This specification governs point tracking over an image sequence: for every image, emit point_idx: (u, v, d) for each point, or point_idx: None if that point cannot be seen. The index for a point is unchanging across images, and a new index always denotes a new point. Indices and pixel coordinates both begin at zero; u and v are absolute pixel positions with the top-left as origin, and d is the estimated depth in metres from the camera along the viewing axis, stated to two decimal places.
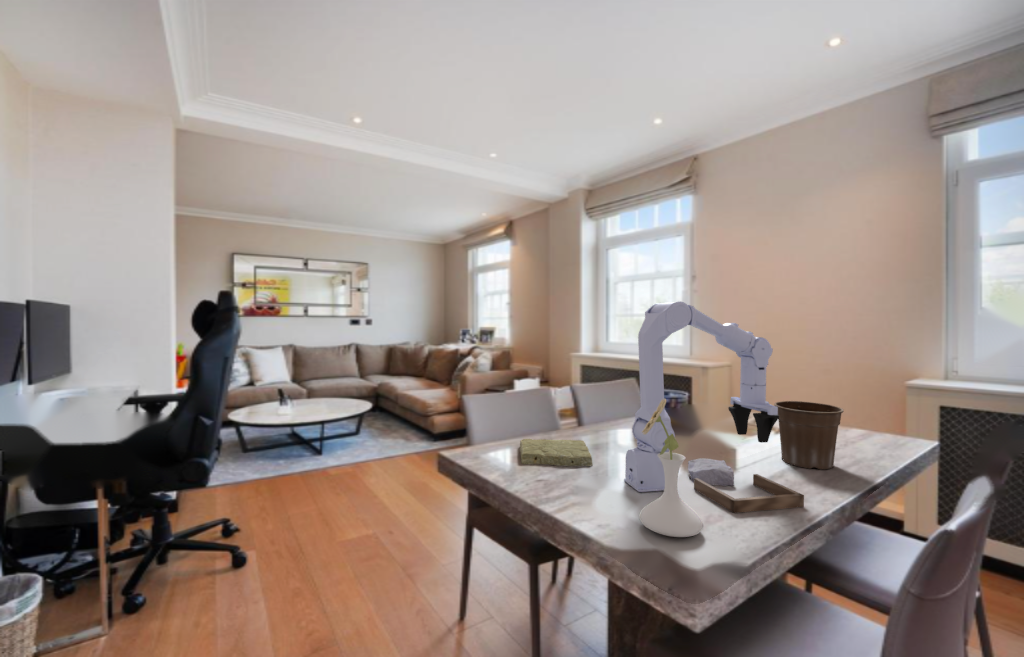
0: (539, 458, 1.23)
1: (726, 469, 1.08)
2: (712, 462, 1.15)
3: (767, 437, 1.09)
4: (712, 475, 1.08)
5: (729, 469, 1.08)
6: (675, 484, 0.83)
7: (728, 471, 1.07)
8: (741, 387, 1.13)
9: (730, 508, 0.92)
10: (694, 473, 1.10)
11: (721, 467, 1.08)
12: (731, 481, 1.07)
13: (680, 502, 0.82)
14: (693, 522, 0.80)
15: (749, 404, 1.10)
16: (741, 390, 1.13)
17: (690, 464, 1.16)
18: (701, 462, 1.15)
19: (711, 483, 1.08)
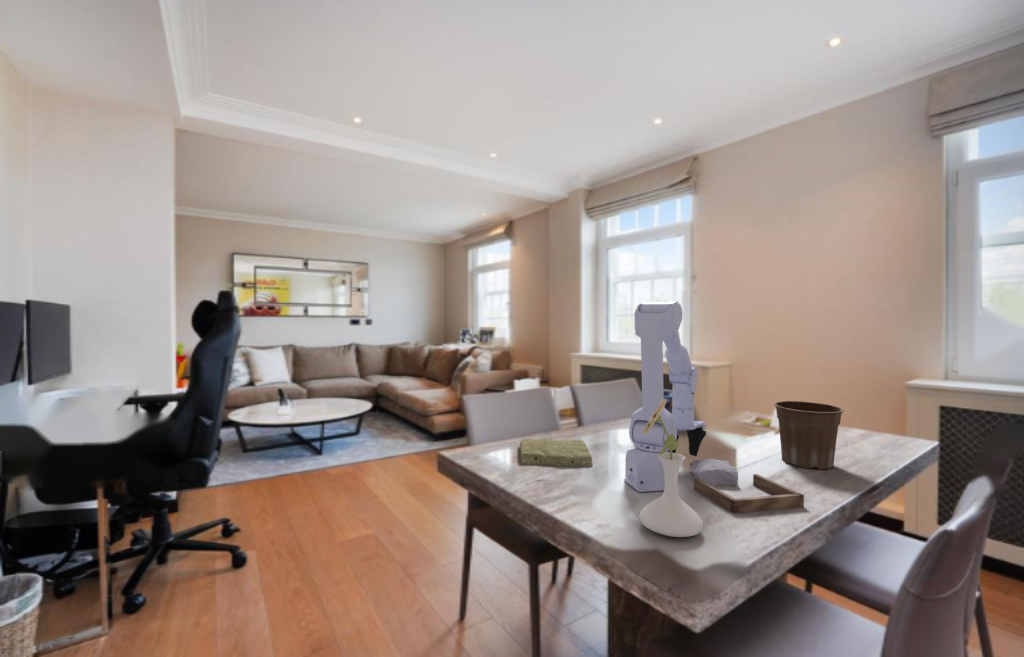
0: (539, 458, 1.23)
1: (730, 469, 1.08)
2: (716, 463, 1.14)
3: None
4: (716, 475, 1.08)
5: (733, 469, 1.08)
6: (675, 484, 0.83)
7: (732, 471, 1.07)
8: None
9: (730, 508, 0.92)
10: (698, 473, 1.09)
11: (725, 467, 1.08)
12: (735, 481, 1.07)
13: (680, 502, 0.82)
14: (693, 522, 0.80)
15: None
16: None
17: (694, 464, 1.15)
18: (704, 462, 1.15)
19: (715, 483, 1.07)
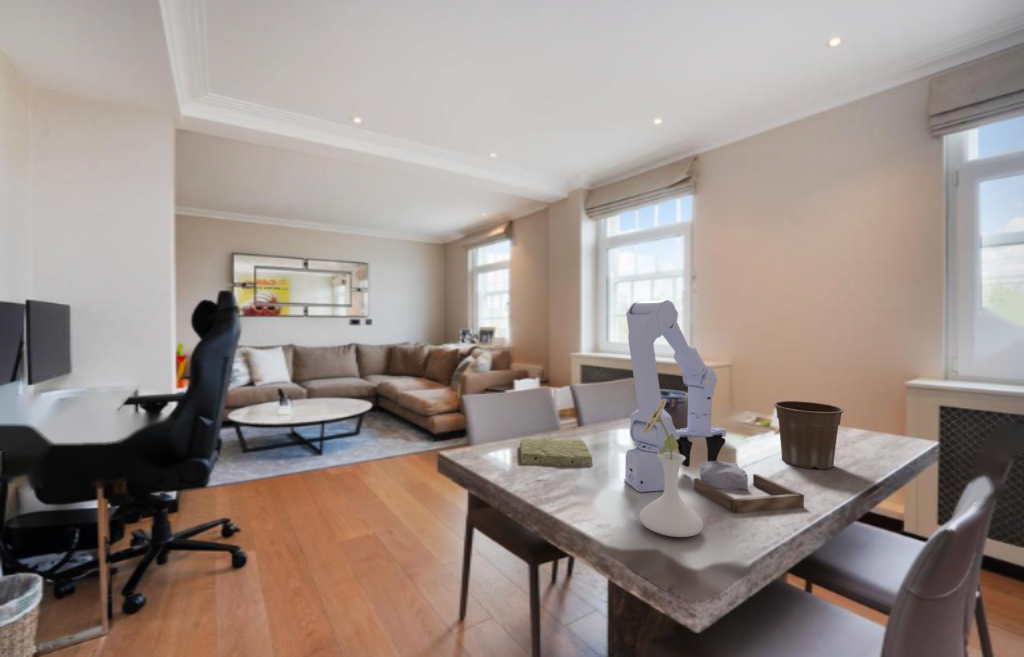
0: (539, 458, 1.23)
1: (740, 472, 1.05)
2: (724, 465, 1.12)
3: (685, 461, 1.15)
4: (725, 478, 1.06)
5: (743, 472, 1.06)
6: (675, 484, 0.83)
7: (742, 474, 1.05)
8: None
9: (730, 508, 0.92)
10: (707, 476, 1.07)
11: (735, 470, 1.06)
12: (745, 484, 1.04)
13: (680, 502, 0.82)
14: (693, 522, 0.80)
15: None
16: None
17: (702, 467, 1.13)
18: (713, 465, 1.13)
19: (724, 486, 1.05)
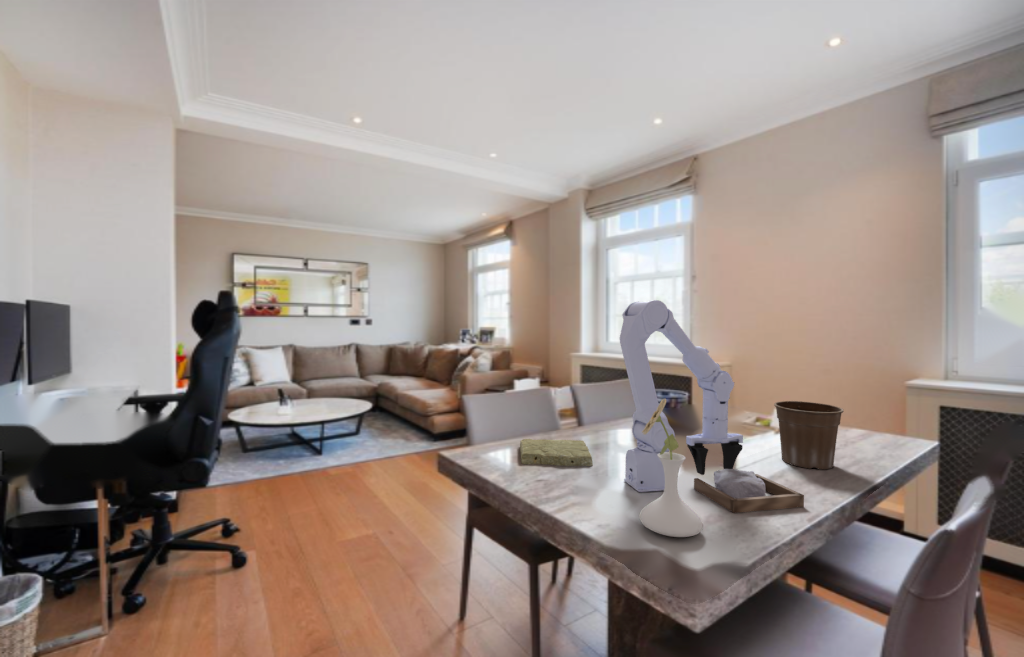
0: (539, 458, 1.23)
1: (757, 481, 0.99)
2: (740, 474, 1.06)
3: (700, 469, 1.09)
4: (741, 488, 1.00)
5: (760, 481, 0.99)
6: (675, 484, 0.83)
7: (759, 484, 0.99)
8: None
9: (730, 508, 0.92)
10: (721, 485, 1.01)
11: (752, 479, 1.00)
12: (763, 495, 0.98)
13: (680, 502, 0.82)
14: (693, 522, 0.80)
15: None
16: None
17: (716, 475, 1.07)
18: (728, 473, 1.07)
19: (740, 497, 0.99)
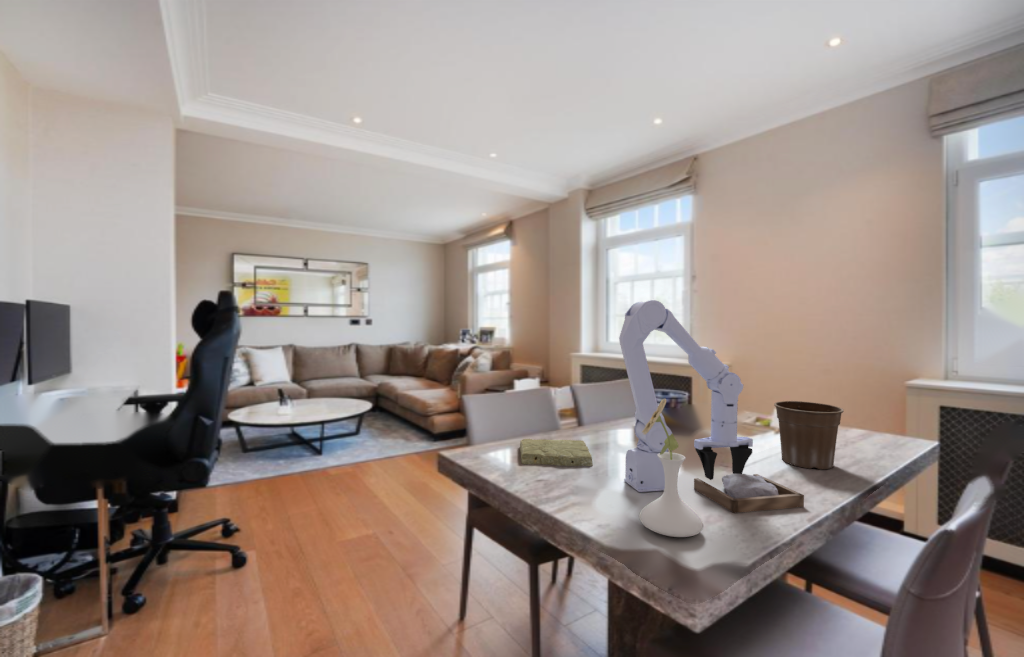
0: (539, 458, 1.23)
1: (770, 487, 0.96)
2: (750, 479, 1.03)
3: (709, 474, 1.06)
4: (754, 494, 0.96)
5: (773, 487, 0.96)
6: (675, 484, 0.83)
7: (772, 489, 0.96)
8: None
9: (730, 508, 0.92)
10: (733, 492, 0.97)
11: (764, 485, 0.97)
12: None
13: (680, 502, 0.82)
14: (693, 522, 0.80)
15: None
16: None
17: (725, 481, 1.04)
18: (737, 478, 1.03)
19: None
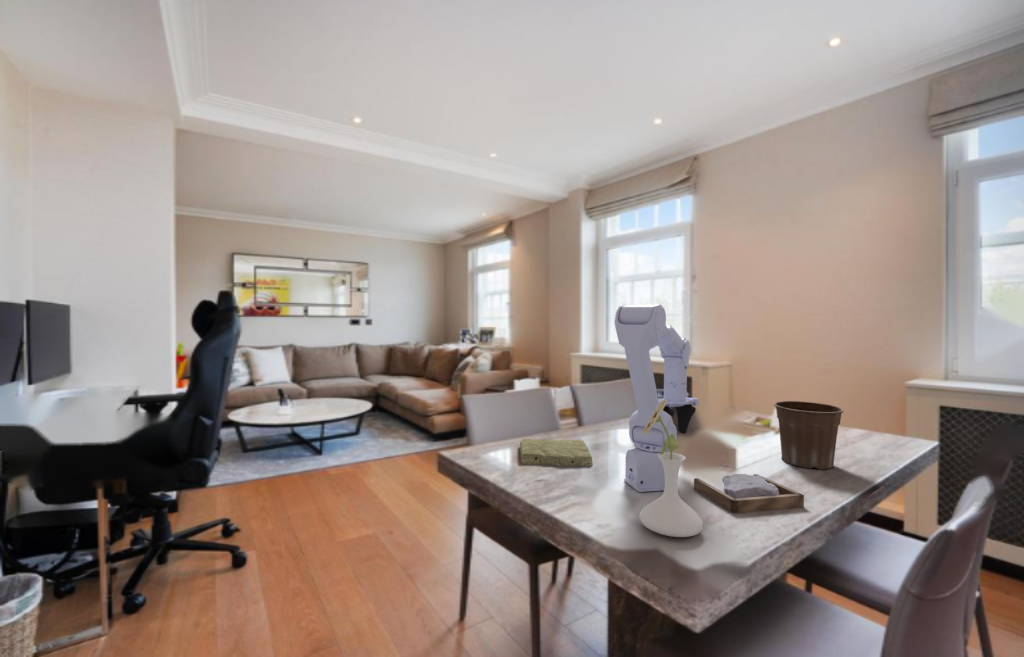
0: (539, 458, 1.23)
1: (770, 487, 0.96)
2: (751, 479, 1.03)
3: None
4: (754, 494, 0.96)
5: (774, 487, 0.96)
6: (675, 484, 0.83)
7: (773, 490, 0.95)
8: None
9: (730, 508, 0.92)
10: (734, 492, 0.97)
11: (765, 485, 0.96)
12: None
13: (680, 502, 0.82)
14: (693, 522, 0.80)
15: None
16: None
17: (726, 481, 1.03)
18: (738, 478, 1.03)
19: None
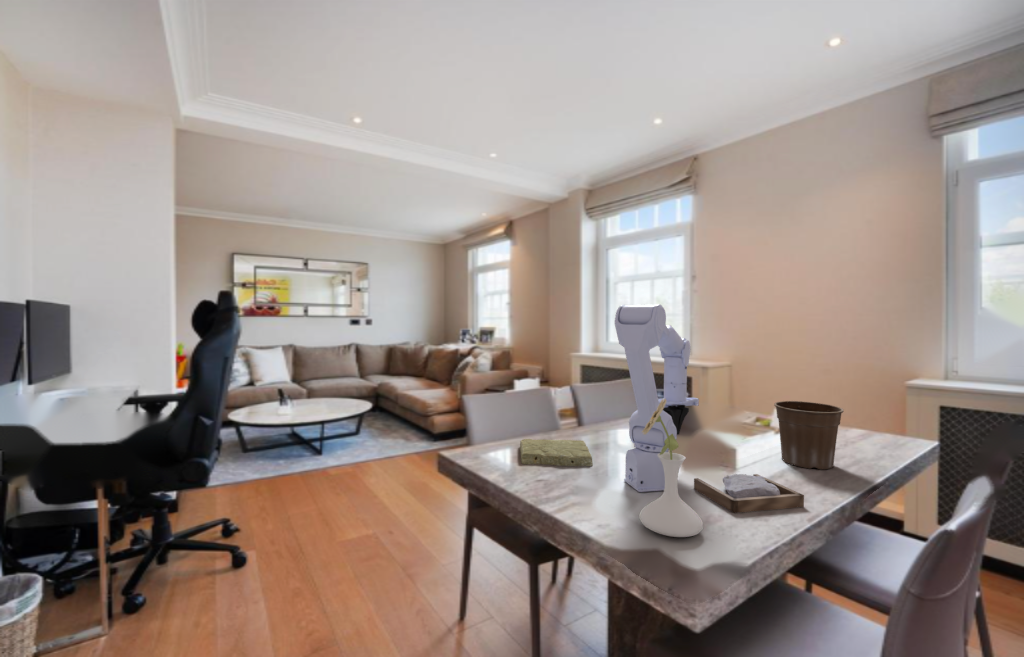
0: (539, 458, 1.23)
1: (771, 488, 0.96)
2: (751, 479, 1.02)
3: None
4: (755, 495, 0.96)
5: (774, 487, 0.96)
6: (675, 484, 0.83)
7: (774, 490, 0.95)
8: None
9: (730, 508, 0.92)
10: (735, 493, 0.97)
11: (766, 485, 0.96)
12: None
13: (680, 502, 0.82)
14: (693, 522, 0.80)
15: None
16: None
17: (726, 481, 1.03)
18: (738, 479, 1.03)
19: None
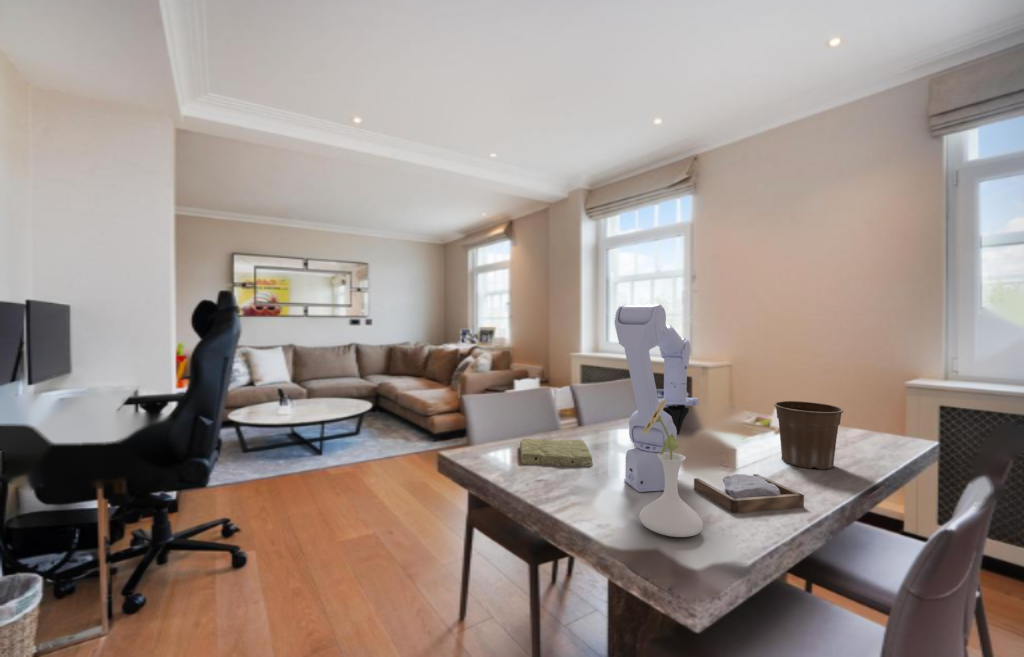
0: (539, 458, 1.23)
1: (772, 488, 0.96)
2: (751, 479, 1.02)
3: None
4: (756, 495, 0.96)
5: (775, 487, 0.96)
6: (675, 484, 0.83)
7: (774, 490, 0.95)
8: None
9: (730, 508, 0.92)
10: (736, 493, 0.97)
11: (766, 485, 0.96)
12: None
13: (680, 502, 0.82)
14: (693, 522, 0.80)
15: None
16: None
17: (726, 481, 1.03)
18: (738, 479, 1.03)
19: None
